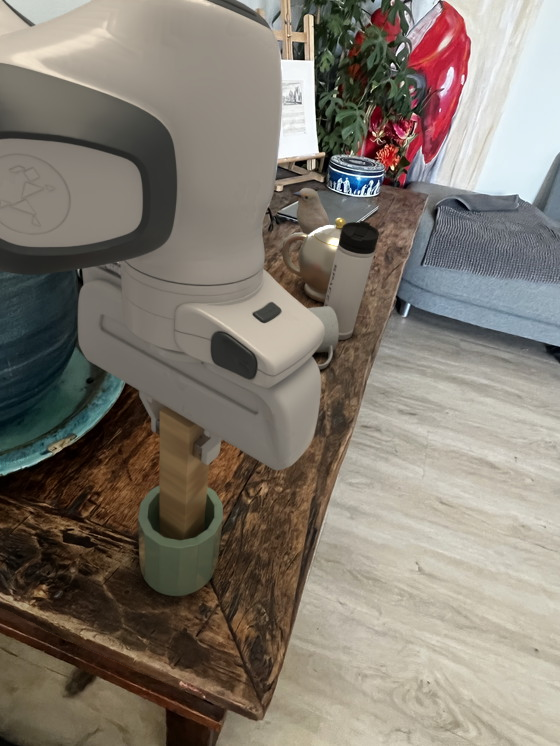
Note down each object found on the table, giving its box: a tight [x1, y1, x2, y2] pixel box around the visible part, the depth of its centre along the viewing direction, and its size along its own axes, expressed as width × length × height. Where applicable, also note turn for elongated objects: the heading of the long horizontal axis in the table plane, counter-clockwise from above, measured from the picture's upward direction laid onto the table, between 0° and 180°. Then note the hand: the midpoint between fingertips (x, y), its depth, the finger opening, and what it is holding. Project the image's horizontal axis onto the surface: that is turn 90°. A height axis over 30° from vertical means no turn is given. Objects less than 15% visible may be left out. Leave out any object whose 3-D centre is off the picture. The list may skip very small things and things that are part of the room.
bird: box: [292, 187, 331, 235], centre depth 117 cm, size 5×14×15 cm, turn 100°
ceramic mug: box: [306, 306, 339, 370], centre depth 82 cm, size 11×8×8 cm
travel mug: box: [323, 220, 380, 341], centre depth 86 cm, size 6×7×20 cm
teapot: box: [281, 217, 347, 304], centre depth 99 cm, size 18×14×16 cm
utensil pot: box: [137, 484, 224, 597], centre depth 48 cm, size 8×8×8 cm
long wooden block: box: [159, 406, 210, 540], centre depth 44 cm, size 3×3×18 cm
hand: (185, 444), depth 41 cm, fingers closed on long wooden block, 3 cm apart
